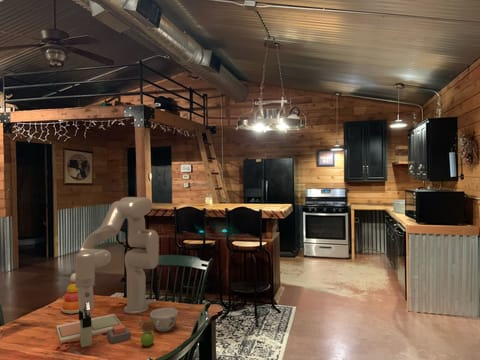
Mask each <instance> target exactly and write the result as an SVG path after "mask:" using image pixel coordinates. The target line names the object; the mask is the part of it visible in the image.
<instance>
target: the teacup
mask: <svg viewBox="0 0 480 360" xmlns="http://www.w3.org/2000/svg"><path fill="white" fill-rule="evenodd" d="M178 312H179V311H178V309H177V308H174V307H162V308H157V309H154V310H152V311H151V312H150V314H149V317H150V321H152V322H153V325H154V326H153V328H155V329H156V331H159V332H168V331H170V330H171V329H172V328H173V327H174V326H175V324H176V322H177V319H178Z"/></svg>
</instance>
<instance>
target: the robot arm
mask: <svg viewBox="0 0 480 360" xmlns="http://www.w3.org/2000/svg"><path fill="white" fill-rule="evenodd" d="M152 208H153V201H152V199H150V198H149V197H144V196H143V197H142V196H141V197H140V196H139V197H138V196H125V197H121V199H120V200H116V201H114V202H113V203H111V205H110V206H109V209H108V211H107V213H106V216H105V217H104V219H103V221H102V224H101V225H100V226H99V227H98V228H96V229H95V230H94V231H93V232H92V233H90V234H89V235H88V236H87V237H86V238H85V239H84V240H83V243H82V244H81V246H80V248H79V250H78V253H77V254H76V255H75V264H74V266H75V287H76V288H78V306H79V310H80V311H79V312H78V321H80V320H83V328H87V327H91V318H92V312H91V311H94V310H95V306H94V305H95V303H94V301H95V300H94V299H95V298H94V286H95V285H96V274H95V273H96V268H102V267H105V266H108V265H109V264H110V263H111V260H112V253H111V252H110V251H109V250H107V249H102V248H96V246H97V245H99V244H100V243H102V242H104V241H106V240H108V239H111V238H114V237H115V236H117V235H118V234H119V232H120V230H121V229H122V226H123V223H124V221H125V219H127V221H128V226H127V227H128V228H127V231H128V234H127V235H128V236H127V241H128V242H127V243H128V245H129V246H130V247H132V248H144V249H131V250H128V251H127V252H126V253H125V255H124V265H125V271H126V306H125V307H124V308H123V311H124V313H126V314H141V313H144V312H146V311H148V310H149V305H151V304H155V303H156V301H155V299H151V298H149V299H147V296H146V295H147V294H146V289H147V288H146V279H147V278H146V273H145V271H144V270H153V269H156V268H157V266H158V262H159V250H160V249H159V247H160V246H159V242H160V241H159V240H160V238H159V233H158V232H157V231H156V230H154V229H146V219H145V216H146V215H148V214H149V213H150V212H151V211H152Z"/></svg>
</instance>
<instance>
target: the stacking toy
mask: <svg viewBox="0 0 480 360" xmlns="http://www.w3.org/2000/svg"><path fill="white" fill-rule="evenodd" d="M69 279H70V282H71V283H70V284H69V285H67V287H66V293H65V295H64V301H63V303H62V305H61V306H62V307H61V308H60V310H61V311H62V313H65V314H70V315H73V314H77V313H78V314H79V311H80V310H79V306H78V288H76V287H75V273H72V274H71V275H70V278H69Z"/></svg>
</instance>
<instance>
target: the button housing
mask: <svg viewBox="0 0 480 360" xmlns="http://www.w3.org/2000/svg"><path fill="white" fill-rule="evenodd" d="M124 326H125V333H120V334H116V335H114V333H113V329H110V330H107V332H106V333H107V335H106V336H107V338H108V340H109V342H110V344H111V345H114V344H118V343H122V342H126V341H130V340H131V339H132V332H131V331H130V329H129V328H128V327H127V325H124Z"/></svg>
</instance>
